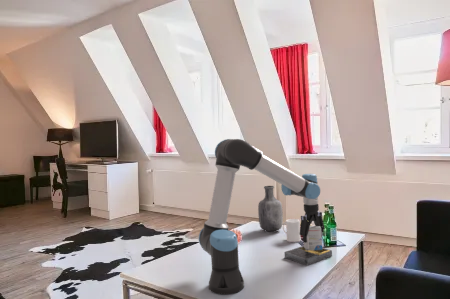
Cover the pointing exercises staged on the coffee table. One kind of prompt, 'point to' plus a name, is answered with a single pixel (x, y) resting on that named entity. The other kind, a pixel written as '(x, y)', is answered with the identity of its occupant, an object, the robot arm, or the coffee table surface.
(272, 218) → the vase
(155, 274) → the coffee table surface
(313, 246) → the ink box
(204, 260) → the coffee table surface
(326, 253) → the tray
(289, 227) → the mug
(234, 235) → the robot arm
